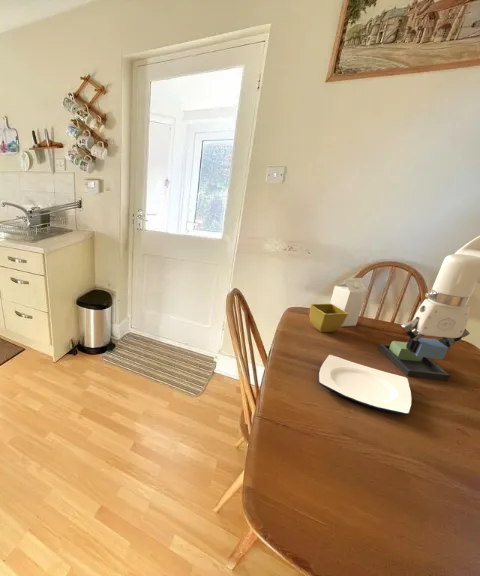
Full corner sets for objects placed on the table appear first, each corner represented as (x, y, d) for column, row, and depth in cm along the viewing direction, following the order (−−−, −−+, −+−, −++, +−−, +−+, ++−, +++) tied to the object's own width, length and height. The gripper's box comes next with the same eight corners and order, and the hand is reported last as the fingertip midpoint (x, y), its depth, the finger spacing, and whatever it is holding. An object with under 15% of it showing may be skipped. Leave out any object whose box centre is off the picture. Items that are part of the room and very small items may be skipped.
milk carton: (325, 318, 130) (337, 276, 123) (341, 317, 131) (353, 275, 124) (339, 327, 123) (353, 282, 116) (356, 325, 124) (370, 281, 117)
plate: (408, 385, 91) (411, 377, 90) (409, 426, 77) (413, 418, 76) (324, 358, 104) (326, 352, 103) (312, 390, 90) (314, 382, 89)
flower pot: (342, 334, 118) (349, 313, 115) (319, 335, 118) (325, 314, 114) (326, 323, 126) (331, 303, 123) (304, 324, 126) (309, 304, 123)
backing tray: (413, 352, 106) (415, 347, 106) (448, 380, 92) (450, 375, 92) (378, 348, 109) (380, 343, 108) (406, 376, 95) (409, 370, 94)
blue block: (431, 350, 97) (436, 339, 95) (443, 359, 92) (448, 347, 91) (406, 347, 98) (410, 336, 97) (416, 356, 94) (421, 345, 92)
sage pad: (411, 353, 105) (415, 343, 103) (421, 361, 100) (425, 351, 99) (388, 350, 106) (391, 340, 105) (397, 359, 102) (401, 348, 100)
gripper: (420, 300, 87) (398, 355, 94) (499, 306, 83) (470, 363, 89) (403, 290, 94) (383, 342, 100) (475, 295, 90) (450, 349, 96)
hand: (425, 351), depth 95 cm, fingers closed on blue block, 6 cm apart
